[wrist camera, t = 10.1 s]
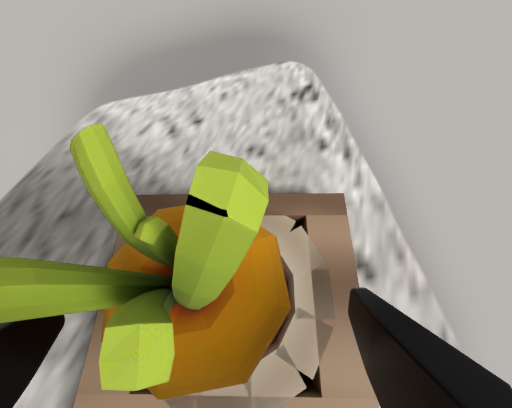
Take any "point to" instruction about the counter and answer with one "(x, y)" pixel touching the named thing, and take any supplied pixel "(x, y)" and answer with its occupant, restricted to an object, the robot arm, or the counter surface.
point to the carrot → (167, 278)
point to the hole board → (296, 325)
